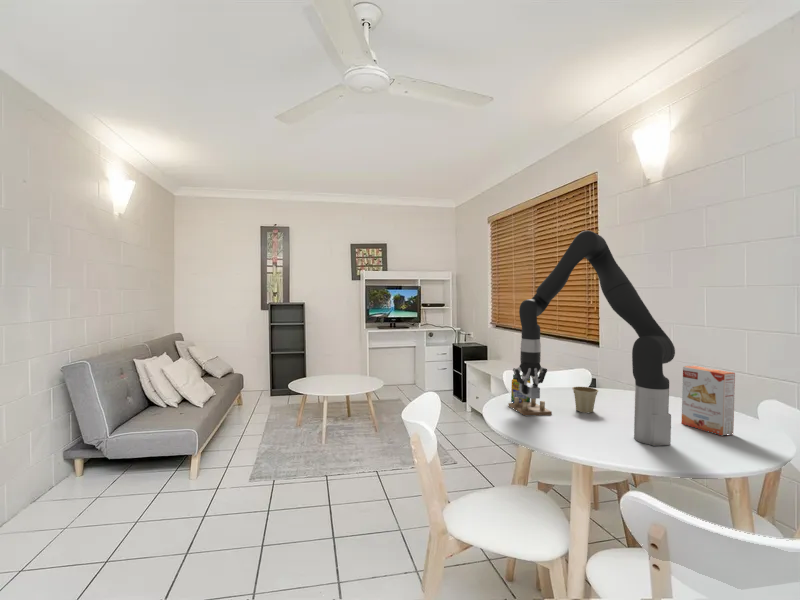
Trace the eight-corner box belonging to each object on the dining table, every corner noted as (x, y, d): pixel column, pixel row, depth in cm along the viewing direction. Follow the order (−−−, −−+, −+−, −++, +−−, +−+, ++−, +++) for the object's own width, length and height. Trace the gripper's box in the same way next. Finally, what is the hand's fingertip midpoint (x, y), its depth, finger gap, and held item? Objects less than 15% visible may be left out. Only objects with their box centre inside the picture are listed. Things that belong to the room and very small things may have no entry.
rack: (551, 414, 162) (551, 403, 162) (524, 416, 160) (524, 404, 160) (533, 405, 176) (533, 394, 176) (508, 406, 174) (508, 395, 174)
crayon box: (510, 403, 179) (511, 375, 178) (512, 401, 181) (512, 374, 181) (528, 405, 175) (529, 377, 175) (530, 403, 178) (530, 375, 178)
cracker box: (680, 424, 152) (681, 365, 152) (691, 422, 154) (693, 365, 154) (722, 437, 139) (723, 373, 139) (734, 435, 141) (736, 372, 141)
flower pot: (592, 408, 172) (593, 386, 172) (601, 414, 163) (602, 392, 163) (568, 407, 173) (569, 386, 173) (576, 413, 164) (576, 391, 163)
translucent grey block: (539, 398, 163) (539, 388, 163) (531, 398, 163) (531, 388, 163) (527, 391, 173) (527, 382, 173) (519, 392, 173) (519, 382, 173)
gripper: (518, 351, 162) (517, 396, 163) (552, 351, 165) (551, 395, 165) (509, 349, 170) (508, 392, 170) (542, 348, 172) (541, 391, 173)
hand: (529, 393), depth 168 cm, fingers closed on translucent grey block, 3 cm apart
